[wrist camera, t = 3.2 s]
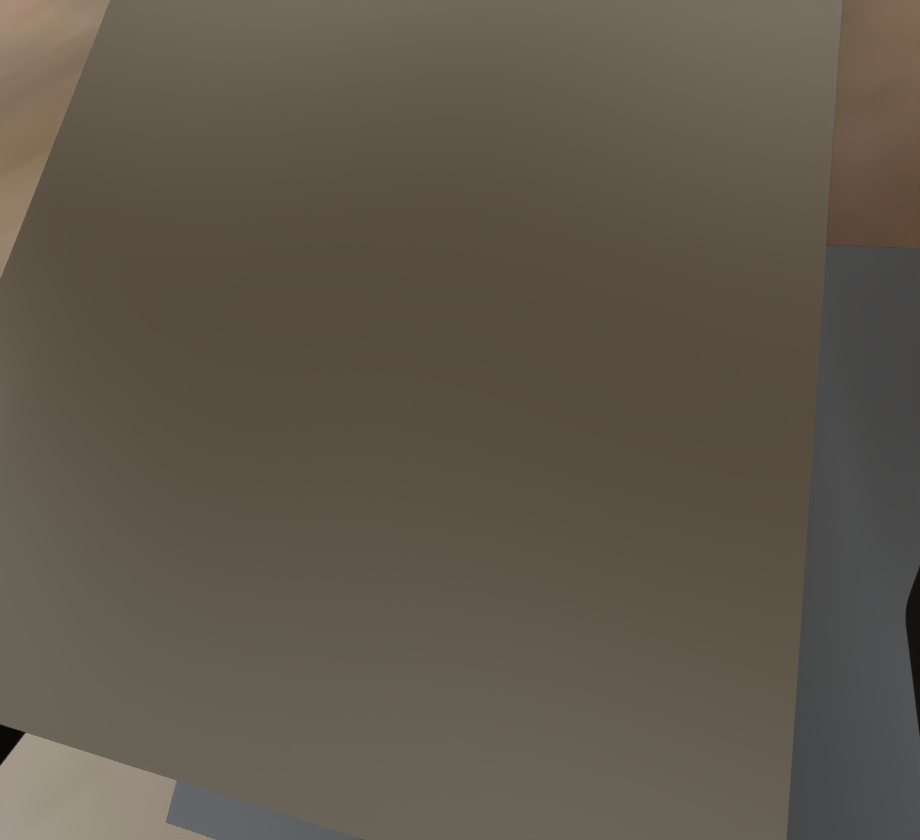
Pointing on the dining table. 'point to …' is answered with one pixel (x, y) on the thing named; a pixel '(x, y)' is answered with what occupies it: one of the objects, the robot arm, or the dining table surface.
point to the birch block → (425, 410)
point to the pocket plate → (812, 579)
